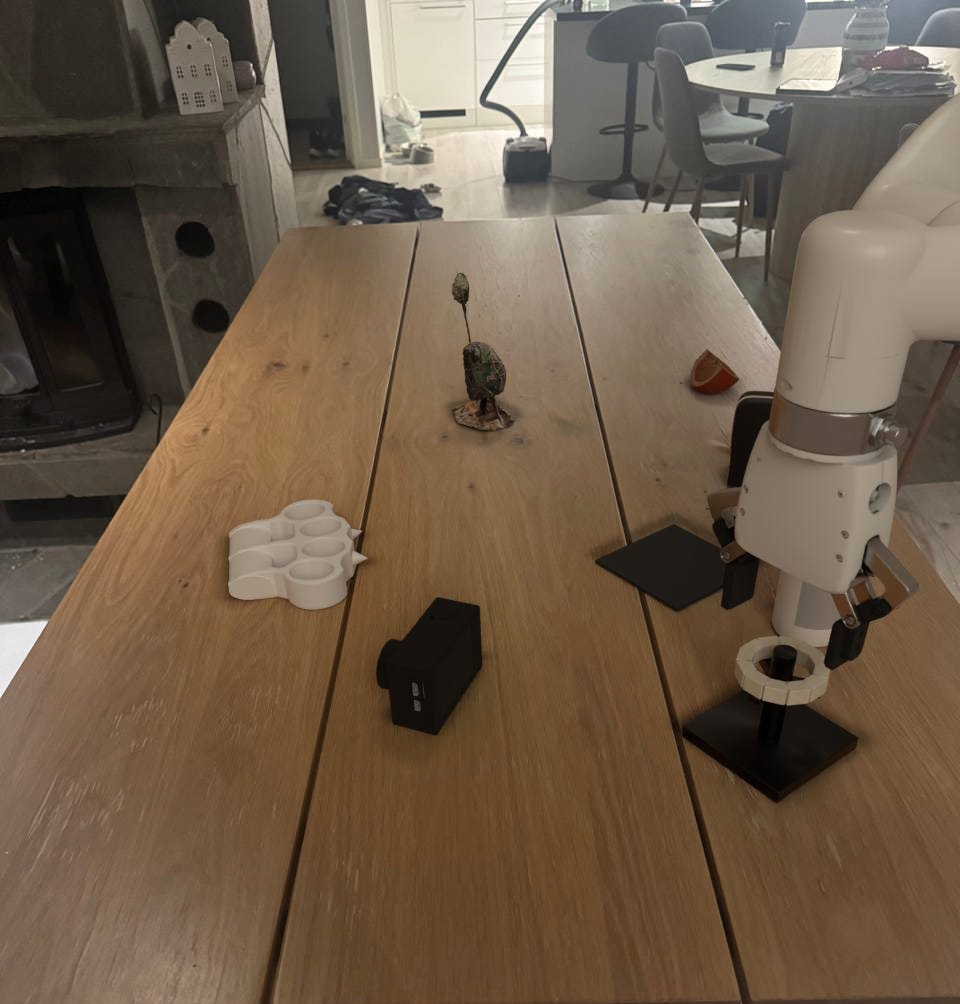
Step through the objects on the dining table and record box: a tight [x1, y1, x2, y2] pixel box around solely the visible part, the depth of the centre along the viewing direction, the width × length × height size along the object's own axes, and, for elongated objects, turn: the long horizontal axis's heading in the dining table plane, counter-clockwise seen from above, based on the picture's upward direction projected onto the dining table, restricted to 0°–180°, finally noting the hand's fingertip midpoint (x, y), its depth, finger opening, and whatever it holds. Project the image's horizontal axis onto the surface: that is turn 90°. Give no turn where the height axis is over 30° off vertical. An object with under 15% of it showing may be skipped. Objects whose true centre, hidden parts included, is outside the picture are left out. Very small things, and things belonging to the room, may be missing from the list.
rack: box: [681, 645, 860, 804], centre depth 77 cm, size 10×10×10 cm
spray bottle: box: [771, 569, 855, 648], centre depth 87 cm, size 7×7×18 cm
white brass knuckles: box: [227, 498, 369, 611], centre depth 104 cm, size 3×18×15 cm
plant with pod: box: [451, 272, 515, 432], centre depth 127 cm, size 8×11×20 cm
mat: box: [594, 523, 726, 612], centre depth 102 cm, size 12×12×1 cm
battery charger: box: [726, 390, 774, 488], centre depth 113 cm, size 7×4×11 cm, turn 75°
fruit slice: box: [689, 348, 740, 395], centre depth 138 cm, size 8×7×5 cm
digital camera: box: [375, 596, 483, 736], centre depth 84 cm, size 10×5×7 cm, turn 157°
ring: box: [733, 635, 831, 706], centre depth 75 cm, size 7×7×1 cm
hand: (786, 631), depth 73 cm, fingers open, 9 cm apart
